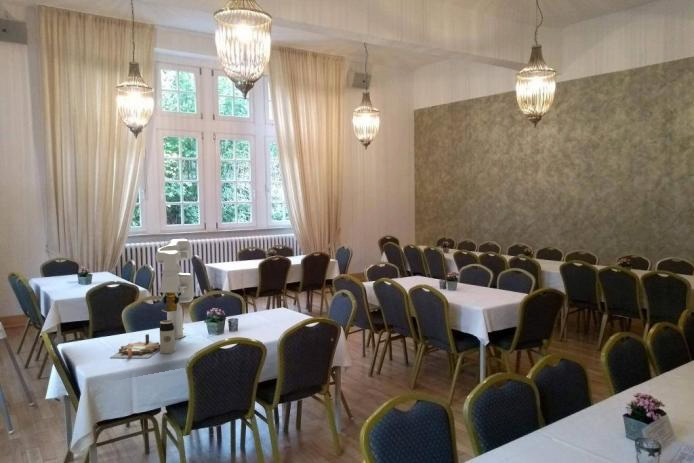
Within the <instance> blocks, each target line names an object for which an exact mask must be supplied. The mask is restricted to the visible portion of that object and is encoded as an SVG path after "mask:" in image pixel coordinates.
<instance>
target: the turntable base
mask: <svg viewBox="0 0 694 463" xmlns="http://www.w3.org/2000/svg"><path fill="white" fill-rule="evenodd" d="M158 352H160V350H155V351H153V352H152V353H150V352H149V353H143V354H132V348H128V354H126V353H125V354H121V352H119V351H118V352H116V353H115V354H113V355H110V357H109V359H143V360H144V359H150V358H151V357H153V356H154V355H155V354H157V353H158Z"/></svg>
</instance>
